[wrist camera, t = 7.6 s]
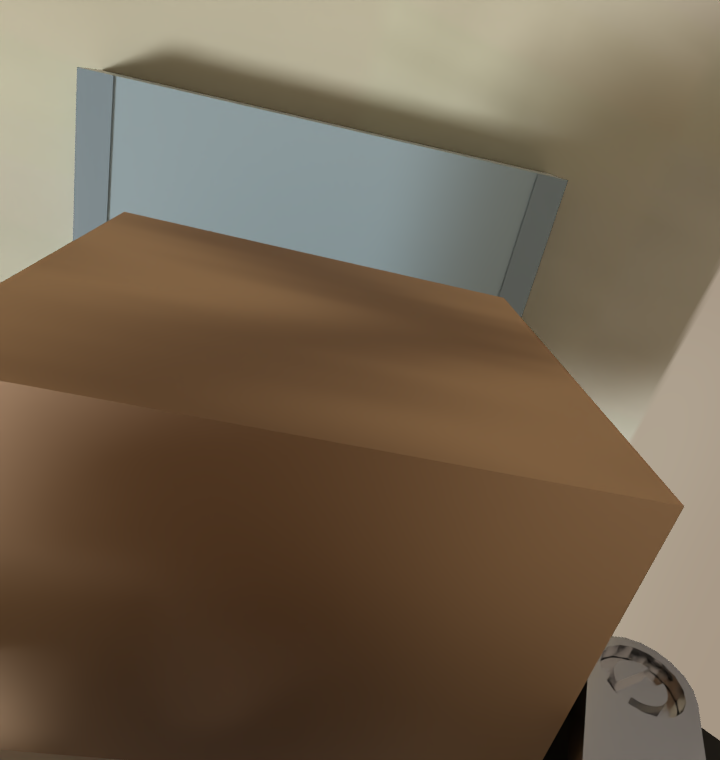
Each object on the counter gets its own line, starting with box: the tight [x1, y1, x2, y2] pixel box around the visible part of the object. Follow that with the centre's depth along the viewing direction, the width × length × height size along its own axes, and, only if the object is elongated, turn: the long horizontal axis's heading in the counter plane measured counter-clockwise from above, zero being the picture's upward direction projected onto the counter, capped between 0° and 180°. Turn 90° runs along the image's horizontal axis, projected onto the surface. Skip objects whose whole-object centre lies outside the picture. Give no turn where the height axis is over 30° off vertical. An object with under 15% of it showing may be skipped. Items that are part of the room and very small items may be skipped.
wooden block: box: [0, 212, 684, 760], centre depth 9 cm, size 6×8×6 cm
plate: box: [73, 67, 568, 317], centre depth 18 cm, size 12×12×2 cm
